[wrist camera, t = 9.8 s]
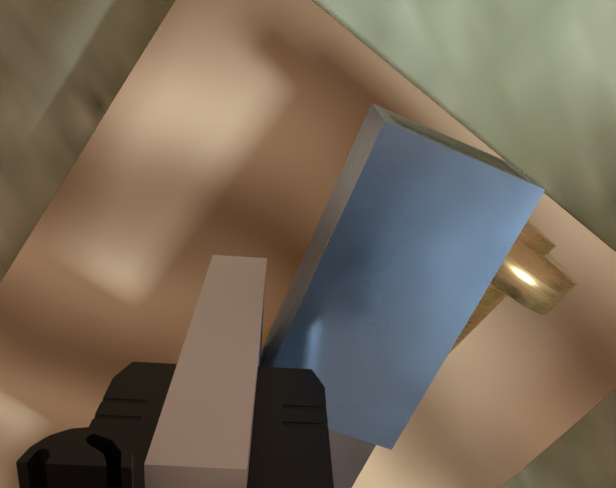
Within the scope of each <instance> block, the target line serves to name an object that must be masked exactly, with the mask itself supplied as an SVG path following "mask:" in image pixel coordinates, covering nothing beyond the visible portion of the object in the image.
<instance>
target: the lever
mask: <svg viewBox="0 0 616 488" xmlns="http://www.w3.org/2000/svg"><path fill="white" fill-rule="evenodd" d="M544 192H545V189H544V188H543V187H541V186H540V185H538V184H537V183H536V182H534V181H533V180H532V179H530V178H529V177H528V176H526V175H525V174H524V173H522V172H521V171H520V170H518V169H517V168H515V167H514V166H513V165H511V164H510V163H509V162H507V161H505V160H503V159H501V158H498V157H496V156H494V155H491V154H489V153H487V152H484V151H482V150H480V149H477V148H475V147H473V146H470V145H468V144H466V143H463V142H461V141H459V140H456V139H454V138H452V137H449V136H447V135H445V134H442V133H440V132H438V131H435V130H433V129H431V128H428V127H426V126H424V125H421V124H419V123H417V122H414V121H412V120H410V119H407V118H405V117H403V116H400V115H398V114H396V113H393V112H391V111H389V110H386V109H384V108H382V107H379V106H377V105H375V104H371V106H370V108H369V111H368V113H367V115H366V117H365V120H364V122H363V124H362V126H361V129H360V131H359V133H358V135H357V137H356V140H355V142H354V144H353V146H352V149H351V151H350V153H349V155H348V158H347V160H346V162H345V164H344V167H343V169H342V171H341V173H340V176H339V178H338V180H337V182H336V184H335V187H334V189H333V191H332V193H331V196H330V198H329V200H328V202H327V205H326V207H325V209H324V211H323V214H322V216H321V218H320V220H319V223H318V225H317V227H316V229H315V231H314V234H313V236H312V238H311V240H310V243H309V245H308V247H307V249H306V252H305V254H304V256H303V258H302V261H301V263H300V265H299V267H298V270H297V272H296V274H295V276H294V278H293V281H292V283H291V285H290V287H289V290H288V292H287V294H286V296H285V299H284V301H283V303H282V305H281V308H280V310H279V312H278V314H277V317H276V319H275V321H274V323H273V326H272V328H271V330H270V332H269V334H268V337H267V339H266V341H265V343H264V346H263V348H262V353H261V360H260V367H280V368H300V369H312V370H313V371H314V373H315V374H316V376H317V377H318V378H319V380H320V381H321V382H322V384H323V385H324V387H325V397H326V411H327V419H328V430H329V440H330V451H331V462H332V473H333V484H334V488H352V486H353V485H354V483H355V481H356V479H357V478H358V476H359V474H360V472H361V471H362V469H363V467H364V465H365V464H366V462H367V460H368V459H369V457H370V455H371V453H372V452H373V450H374V448H375V446H376V445H378V446H381V447H384V448H387V449H390V450H392V449H393V447H394V445H395V443H396V442H397V440H398V438H399V437H400V435H401V433H402V432H403V430H404V428H405V427H406V425H407V423H408V421H409V420H410V418H411V416H412V415H413V413H414V411H415V410H416V408H417V406H418V405H419V403H420V401H421V399H422V398H423V396H424V394H425V393H426V391H427V389H428V388H429V386H430V384H431V383H432V381H433V379H434V377H435V376H436V374H437V372H438V371H439V369H440V367H441V366H442V364H443V362H444V361H445V359H446V357H447V356H448V354H449V352H450V350H451V349H452V347H453V345H454V344H455V342H456V340H457V339H458V337H459V335H460V334H461V332H462V330H463V328H464V327H465V325H466V323H467V322H468V320H469V318H470V317H471V315H472V313H473V312H474V310H475V308H476V306H477V305H478V303H479V301H480V300H481V298H482V296H483V295H484V293H485V291H486V290H487V288H488V286H489V285H490V283H491V281H492V279H493V278H494V276H495V274H496V273H497V271H498V269H499V268H500V266H501V264H502V263H503V261H504V259H505V257H506V256H507V254H508V252H509V251H510V249H511V247H512V246H513V244H514V242H515V241H516V239H517V237H518V235H519V234H520V232H521V230H522V229H523V227H524V225H525V224H526V222H527V220H528V219H529V217H530V215H531V213H532V212H533V210H534V208H535V207H536V205H537V203H538V202H539V200H540V198H541V197H542V195H543V193H544Z"/></svg>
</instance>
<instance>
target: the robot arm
mask: <svg viewBox="0 0 616 488" xmlns="http://www.w3.org/2000/svg"><path fill="white" fill-rule="evenodd" d="M266 268H267V258H255V257H241V256H225V255H213V256H212V259H211V262H210V265H209V268H208V271H207V274H206V277H205V280H204V283H203V286H202V289H201V293H200V296H199V299H198V302H197V305H196V308H195V311H194V314H193V317H192V320H191V323H190V326H189V329H188V332H187V335H186V338H185V341H184V344H183V347H182V350H181V354H180V357H179V360H178V363H177V364H169V363H150V362H132V363H130V364H129V365H128V366H127V367H125V368H124V369H123V370H122V371H121V372H119V373H118V374H117V375H116V376H114V377H113V378H112V380H111V383H110V385H109V387H108V389H107V391H106V393H105V395H104V397H103V401H102V402H101V403H100V405H99V407H98V409H97V411H96V413H95V417H94V419H92V421H91V423H90V425H89V427H84V428H71V429H68V430H65V431H61V432H58V433H55V434H52V435H49V436H47V437H46V438H44V439H42V440H41V441H39V442H37V443H36V444H34V445H32V446H31V447H29V448H28V450H27V451H26V452H25V453H24V454H23V455H22V456H21V457H20V458H19V459H18V460H17V462H16V466H17V473H18V480H19V487H20V488H334V484H333V473H332V462H331V451H330V440H329V430H328V419H327V411H326V397H325V387H324V385H323V384H322V382H321V381H320V380H319V378H318V377H317V376H316V374H315V373H314V371H313V370H312V369H300V368H280V367H260V360H261V353H262V337H263V320H264V302H265V285H266Z"/></svg>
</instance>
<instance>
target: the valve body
mask: <svg viewBox="0 0 616 488" xmlns="http://www.w3.org/2000/svg"><path fill="white" fill-rule="evenodd" d="M555 247H556V245H555V244H554V243H553V242H552V241H551V240H550V239H549V238H548V237H547V236H546V235H545V234H544V233H543V232H542V231H540V230H539V229H538V228H537V227H536V226H535V225H534V224H533V223H531V222H530V221H529V220H527V222H526V224H525V225H524V227H523V229H522V230H521V232H520V234H519V235H518V237H517V239H516V241H515V242H514V244H513V246H512V247H511V249H510V251H509V252H508V254H507V256H506V257H505V259H504V261H503V263H502V264H501V266H500V268H499V269H498V271H497V273H496V274H495V276H494V278H493V279H492V281H491V283H490V285H489V286H488V288H487V290H486V291H485V293H484V295H483V296H482V298H481V300H480V301H479V303H478V305H477V306H476V308H475V310H474V312H473V313H472V315H471V317H470V318H469V320H468V322H467V323H466V325H465V327H464V328H463V330H462V332H461V334H460V335H459V337H458V339H457V340H456V342H455V344H454V345H453V347H452V349H451V350H450V352H449V354H450V353H451V352H452V351H453V350H454V349H455V348H456V347H457V346H458V344H459V343H460V342H461V341H462V340H463V339H464V338H465V337H466V336H467V335H468V334H469V333H470V332H471V331H472V330H473V329H474V328H475V327H476V326H477V325H478V324H479V323H480V322H481V321H482V320H483V319H484V318H485V317H486V316H487V315H488V314H489V313H490V312H491V311H492V310H493V309H494V308H495V307H496V306H497V305H498V304H499V303H500V302H501V301H502V300H503V299H504V298H505V297H506V296H507V295H508V296H510V297H511V298H512V299H514V300H515V301H517V302H519V303H520V304H522V305H523V306H525V307H527V308H528V309H530V310H532V311H534V312H536V313H538V314H541V315H548V314H549V313H550V312H551V311H552V310H553V309H554V308H555V307H556V306H557V305H558V304H559V303H560V302H561V301H562V300H563V299H564V298H565V297H566V296H567V295H568V294H570V293H571V292H572V291H573V290H574V289H575V288H576V287H577V286H578V282H577V281H576V280H575V278H574V277H573V276H572V275H571V274H570V273H569V272H568V271H567V270H566V269H565V268H564V267H563V266H562V265H561V264H560V263H559V262H558V261H557V260H556V259H555V258H554V257H553V256H552V255H550V254H549V253H550V252H551V251H552V250H553V249H554V248H555ZM273 323H274V322H273ZM273 323H272V324H271V325H270V327H269V328H268V329H267V330H266V331H265V333H264V334H263V337H262V348H263V346H264V343H265V341H266V339H267V337H268V334H269V332H270V330H271V328H272V326H273ZM449 354H448V355H449Z"/></svg>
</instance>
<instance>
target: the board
mask: <svg viewBox="0 0 616 488" xmlns="http://www.w3.org/2000/svg"><path fill="white" fill-rule="evenodd" d="M371 104H375V105H377V106H379V107H382V108H384V109H386V110H389V111H391V112H393V113H396V114H398V115H400V116H403V117H405V118H407V119H410V120H412V121H414V122H417V123H419V124H421V125H424V126H426V127H428V128H431V129H433V130H435V131H438V132H440V133H442V134H445V135H447V136H449V137H452V138H454V139H456V140H459V141H461V142H463V143H466V144H468V145H470V146H473V147H475V148H477V149H480V150H482V151H484V152H487V153H489V154H491V155H494V156H496V157H498V158H501V157H500V156H499V155H498V154H497V153H495V152H494V151H493V150H492V149H490V148H489V147H488V146H487V145H486V144H484V143H483V142H482V141H481V140H480V139H478V138H477V137H476V136H475V135H474V134H472V133H471V132H470V131H469V130H468V129H466V128H465V127H464V126H463V125H462V124H460V123H459V122H458V121H457V120H455V119H454V118H453V117H452V116H451V115H449V114H448V113H447V112H446V111H445V110H443V109H442V108H441V107H440V106H439V105H437V104H436V103H435V102H434V101H433V100H431V99H430V98H429V97H428V96H427V95H425V94H424V93H423V92H422V91H420V90H419V89H418V88H417V87H416V86H414V85H413V84H412V83H411V82H410V81H408V80H407V79H406V78H405V77H404V76H402V75H401V74H400V73H399V72H398V71H396V70H395V69H394V68H393V67H392V66H390V65H389V64H388V63H387V62H385V61H384V60H383V59H382V58H381V57H379V56H378V55H377V54H376V53H375V52H373V51H372V50H371V49H370V48H369V47H367V46H366V45H365V44H364V43H363V42H361V41H360V40H359V39H358V38H357V37H355V36H354V35H353V34H352V33H350V32H349V31H348V30H347V29H346V28H344V27H343V26H342V25H341V24H340V23H338V22H337V21H336V20H335V19H334V18H332V17H331V16H330V15H329V14H328V13H326V12H325V11H324V10H323V9H322V8H320V7H319V6H318V5H317V4H315V3H314V2H313V1H312V0H175V2H174V3H173V5H172V7H171V8H170V10H169V11H168V13H167V15H166V16H165V18H164V19H163V21H162V23H161V24H160V26H159V28H158V29H157V31H156V32H155V34H154V36H153V37H152V39H151V40H150V42H149V44H148V45H147V47H146V49H145V50H144V52H143V53H142V55H141V57H140V58H139V60H138V61H137V63H136V65H135V66H134V68H133V69H132V71H131V73H130V74H129V76H128V78H127V79H126V81H125V82H124V84H123V86H122V87H121V89H120V90H119V92H118V94H117V95H116V97H115V99H114V100H113V102H112V103H111V105H110V107H109V108H108V110H107V111H106V113H105V115H104V116H103V118H102V120H101V121H100V123H99V124H98V126H97V128H96V129H95V131H94V132H93V134H92V136H91V137H90V139H89V141H88V142H87V144H86V145H85V147H84V149H83V150H82V152H81V153H80V155H79V157H78V158H77V160H76V161H75V163H74V165H73V166H72V168H71V170H70V171H69V173H68V174H67V176H66V178H65V179H64V181H63V182H62V184H61V186H60V187H59V189H58V191H57V192H56V194H55V195H54V197H53V199H52V200H51V202H50V203H49V205H48V207H47V208H46V210H45V212H44V213H43V215H42V216H41V218H40V220H39V221H38V223H37V224H36V226H35V228H34V229H33V231H32V232H31V234H30V236H29V237H28V239H27V241H26V242H25V244H24V245H23V247H22V249H21V250H20V252H19V253H18V255H17V257H16V258H15V260H14V262H13V263H12V265H11V266H10V268H9V270H8V271H7V273H6V274H5V276H4V278H3V279H2V281H1V283H0V488H20V487H19V480H18V473H17V466H16V462H17V460H18V459H19V458H20V457H21V456H22V455H23V454H24V453H25V452H26V451H27V450H28V448H29V447H31V446H32V445H34V444H36V443H37V442H39V441H41V440H42V439H44V438H46V437H47V436H49V435H52V434H55V433H58V432H61V431H65V430H68V429H71V428H84V427H89V425H90V423H91V421H92V419H94V417H95V413H96V411H97V409H98V407H99V405H100V403H101V402H102V401H103V397H104V395H105V393H106V391H107V389H108V387H109V385H110V383H111V380H112V378H113V377H114V376H116V375H117V374H118V373H119V372H121V371H122V370H123V369H124V368H125V367H127V366H128V365H129V364H130V363H132V362H150V363H169V364H177V363H178V360H179V357H180V354H181V350H182V347H183V344H184V341H185V338H186V335H187V332H188V329H189V326H190V323H191V320H192V317H193V314H194V311H195V308H196V305H197V302H198V299H199V296H200V293H201V289H202V286H203V283H204V280H205V277H206V274H207V271H208V268H209V265H210V262H211V259H212V256H213V255H225V256H241V257H255V258H267V268H266V285H265V302H264V320H263V334H264V333H265V331H266V330H267V329H268V328H269V327H270V325H271V324H272V323H273V322H274V321H275V319H276V317H277V314H278V312H279V310H280V308H281V305H282V303H283V301H284V299H285V296H286V294H287V292H288V290H289V287H290V285H291V283H292V281H293V278H294V276H295V274H296V272H297V270H298V267H299V265H300V263H301V261H302V258H303V256H304V254H305V252H306V249H307V247H308V245H309V243H310V240H311V238H312V236H313V234H314V231H315V229H316V227H317V225H318V223H319V220H320V218H321V216H322V214H323V211H324V209H325V207H326V205H327V202H328V200H329V198H330V196H331V193H332V191H333V189H334V187H335V184H336V182H337V180H338V178H339V176H340V173H341V171H342V169H343V167H344V164H345V162H346V160H347V158H348V155H349V153H350V151H351V149H352V146H353V144H354V142H355V140H356V137H357V135H358V133H359V131H360V129H361V126H362V124H363V122H364V120H365V117H366V115H367V113H368V111H369V108H370V106H371ZM501 159H503V158H501ZM503 160H504V159H503ZM528 220H529V221H530V222H531V223H533V224H534V225H535V226H536V227H537V228H538V229H539V230H540V231H542V232H543V233H544V234H545V235H546V236H547V237H548V238H549V239H550V240H551V241H552V242H553V243H554V244H555V245H556V247H555V248H554V249H553V250H552V251H551V252H550V253H549V254H550V255H552V256H553V257H554V258H555V259H556V260H557V261H558V262H559V263H560V264H561V265H562V266H563V267H564V268H565V269H566V270H567V271H568V272H569V273H570V274H571V275H572V276H573V277H574V278H575V280H576V281H577V282H578V286H577V287H576V288H575V289H574V290H573V291H572V292H571V293H570V294H568V295H567V296H566V297H565V298H564V299H563V300H562V301H561V302H560V303H559V304H558V305H557V306H556V307H555V308H554V309H553V310H552V311H551V312H550V313H549V314H548V315H541V314H538V313H536V312H534V311H532V310H530V309H528V308H527V307H525V306H523V305H522V304H520V303H519V302H517V301H515V300H514V299H512V298H511V297H510V296H508V295H507V296H506V297H505V298H504V299H503V300H502V301H501V302H500V303H499V304H498V305H497V306H496V307H495V308H494V309H493V310H492V311H491V312H490V313H489V314H488V315H487V316H486V317H485V318H484V319H483V320H482V321H481V322H480V323H479V324H478V325H477V326H476V327H475V328H474V329H473V330H472V331H471V332H470V333H469V334H468V335H467V336H466V337H465V338H464V339H463V340H462V341H461V342H460V343H459V344H458V346H457V347H456V348H455V349H454V350H453V351H452V352H451V353H450V354H449V355H448V356H447V357H446V359H445V361H444V362H443V364H442V366H441V367H440V369H439V371H438V372H437V374H436V376H435V377H434V379H433V381H432V383H431V384H430V386H429V388H428V389H427V391H426V393H425V394H424V396H423V398H422V399H421V401H420V403H419V405H418V406H417V408H416V410H415V411H414V413H413V415H412V416H411V418H410V420H409V421H408V423H407V425H406V427H405V428H404V430H403V432H402V433H401V435H400V437H399V438H398V440H397V442H396V443H395V445H394V447H393V449H392V450H390V449H387V448H384V447H381V446H378V445H376V446H375V448H374V450H373V452H372V453H371V455H370V457H369V459H368V460H367V462H366V464H365V465H364V467H363V469H362V471H361V472H360V474H359V476H358V478H357V479H356V481H355V483H354V485H353V486H352V488H501V487H502V486H503V485H505V484H506V483H507V482H508V481H509V480H510V479H512V478H513V477H514V476H515V475H516V474H517V473H519V472H520V471H521V470H522V469H523V468H524V467H525V466H527V465H528V464H529V463H530V462H531V461H532V460H534V459H535V458H536V457H537V456H538V455H539V454H540V453H542V452H543V451H544V450H545V449H546V448H547V447H549V446H550V445H551V444H552V443H553V442H554V441H555V440H557V439H558V438H559V437H560V436H561V435H562V434H564V433H565V432H566V431H567V430H568V429H569V428H571V427H572V426H573V425H574V424H575V423H576V422H577V421H579V420H580V419H581V418H582V417H583V416H584V415H586V414H587V413H588V412H589V411H590V410H591V409H592V408H594V407H595V406H596V405H597V404H598V403H599V402H601V401H602V400H603V399H604V398H605V397H606V396H607V395H609V394H610V393H611V392H612V391H613V390H614V389H616V252H615V251H614V250H612V249H611V248H610V247H609V246H608V245H606V244H605V243H604V242H603V241H602V240H600V239H599V238H598V237H597V236H595V235H594V234H593V233H592V232H591V231H589V230H588V229H587V228H586V227H585V226H583V225H582V224H581V223H580V222H579V221H577V220H576V219H575V218H574V217H573V216H571V215H570V214H569V213H568V212H567V211H565V210H564V209H563V208H562V207H560V206H559V205H558V204H557V203H556V202H554V201H553V200H552V199H551V198H550V197H548V196H547V195H546V194H545V193H543V195H542V197H541V198H540V200H539V202H538V203H537V205H536V207H535V208H534V210H533V212H532V213H531V215H530V217H529V219H528Z"/></svg>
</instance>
